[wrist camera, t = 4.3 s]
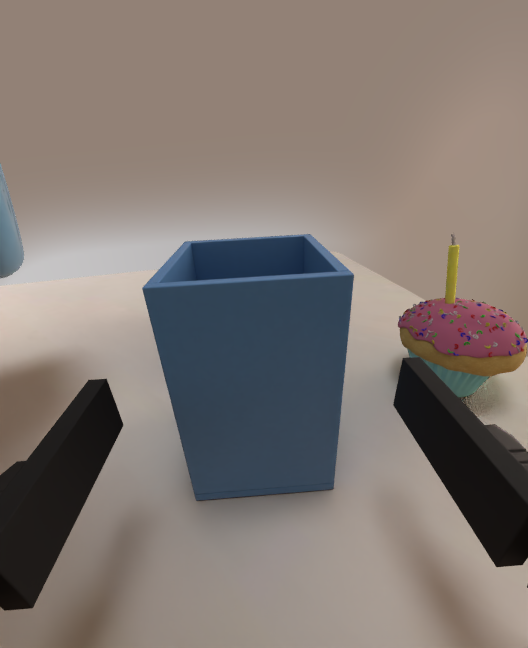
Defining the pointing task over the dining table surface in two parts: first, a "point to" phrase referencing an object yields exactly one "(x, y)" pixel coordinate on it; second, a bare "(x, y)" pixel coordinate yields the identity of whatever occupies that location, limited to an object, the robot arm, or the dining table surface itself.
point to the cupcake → (462, 336)
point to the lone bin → (254, 361)
